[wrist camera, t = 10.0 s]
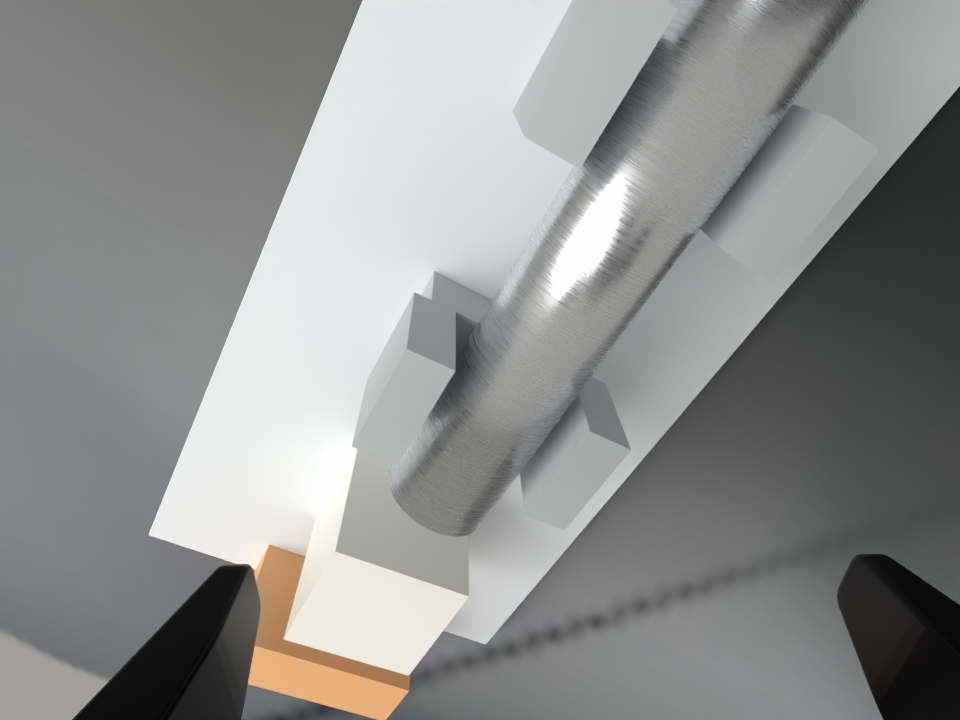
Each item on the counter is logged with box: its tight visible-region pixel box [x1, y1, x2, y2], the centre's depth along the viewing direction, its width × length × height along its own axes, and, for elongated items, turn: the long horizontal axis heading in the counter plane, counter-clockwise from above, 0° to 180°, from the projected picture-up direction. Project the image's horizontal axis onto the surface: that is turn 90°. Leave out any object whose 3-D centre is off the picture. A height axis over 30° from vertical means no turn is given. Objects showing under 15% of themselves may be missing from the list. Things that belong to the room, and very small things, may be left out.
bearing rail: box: [149, 0, 960, 720], centre depth 17 cm, size 14×30×6 cm, turn 151°
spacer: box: [284, 448, 469, 676], centre depth 20 cm, size 4×4×5 cm
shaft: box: [388, 0, 870, 537], centre depth 14 cm, size 5×17×5 cm, turn 151°
